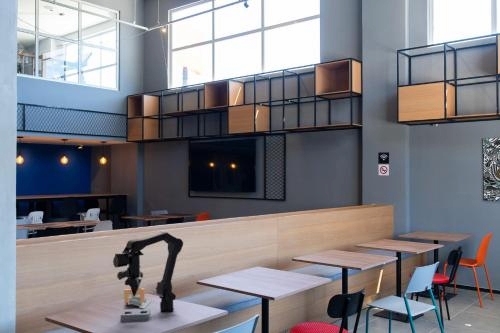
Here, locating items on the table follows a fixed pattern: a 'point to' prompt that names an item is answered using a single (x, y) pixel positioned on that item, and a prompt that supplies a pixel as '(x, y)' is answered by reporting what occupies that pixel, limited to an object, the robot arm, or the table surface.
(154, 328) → the table surface
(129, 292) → the clip
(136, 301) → the metal bracket
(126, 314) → the slotted plate
